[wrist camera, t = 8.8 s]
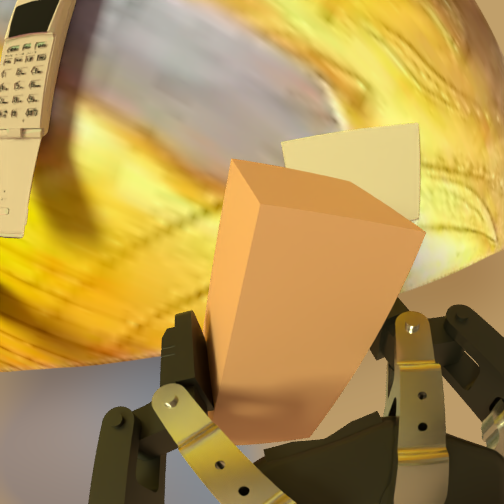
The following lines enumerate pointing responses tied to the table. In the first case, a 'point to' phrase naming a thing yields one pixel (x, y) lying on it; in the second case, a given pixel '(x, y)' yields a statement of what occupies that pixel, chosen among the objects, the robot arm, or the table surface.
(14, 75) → the mobile phone
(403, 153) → the beige flat plate
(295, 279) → the card box
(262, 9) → the table surface
